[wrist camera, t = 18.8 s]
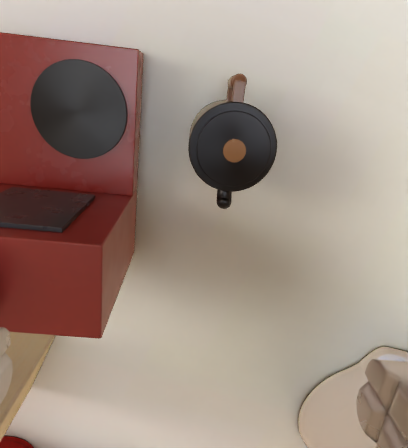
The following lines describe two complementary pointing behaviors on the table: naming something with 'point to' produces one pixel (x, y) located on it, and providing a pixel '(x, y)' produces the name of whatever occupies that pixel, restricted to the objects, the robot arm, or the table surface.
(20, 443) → the plastic cup
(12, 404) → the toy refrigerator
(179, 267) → the table surface
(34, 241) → the coffee maker
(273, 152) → the kettle
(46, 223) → the warming base
